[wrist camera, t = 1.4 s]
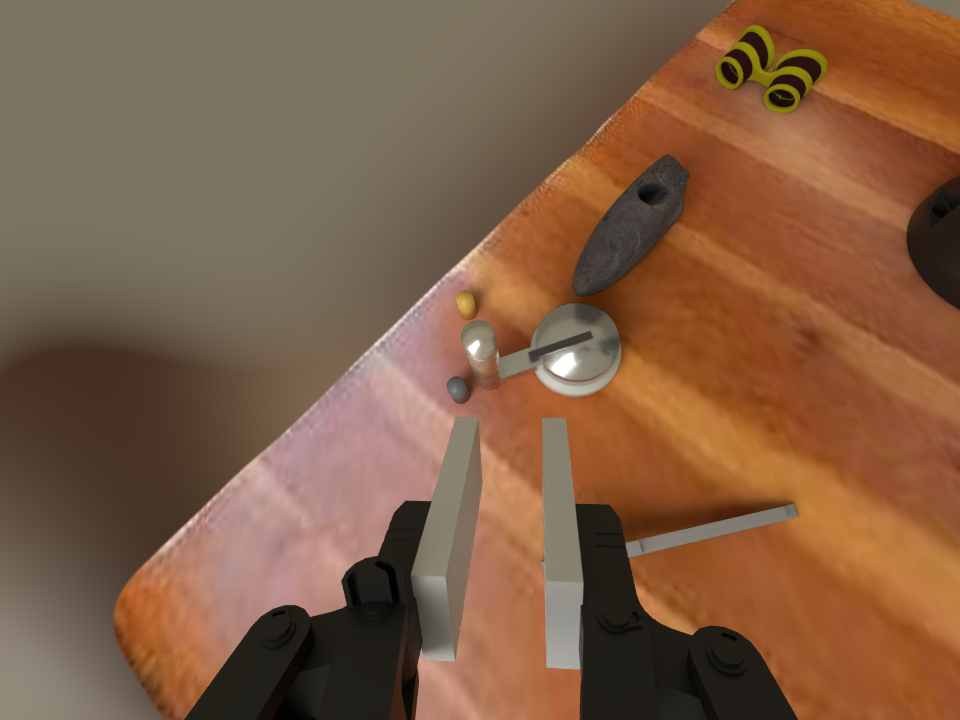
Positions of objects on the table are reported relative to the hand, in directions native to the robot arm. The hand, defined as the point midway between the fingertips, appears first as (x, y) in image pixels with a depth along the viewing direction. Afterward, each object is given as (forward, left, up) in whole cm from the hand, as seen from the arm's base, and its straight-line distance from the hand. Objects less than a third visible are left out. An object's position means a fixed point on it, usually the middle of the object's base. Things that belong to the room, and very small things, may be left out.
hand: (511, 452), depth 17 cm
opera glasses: (-39, -34, -27) cm, 58 cm away
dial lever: (-6, -11, -24) cm, 27 cm away
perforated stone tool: (-17, -20, -26) cm, 37 cm away
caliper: (-10, +6, -27) cm, 29 cm away
